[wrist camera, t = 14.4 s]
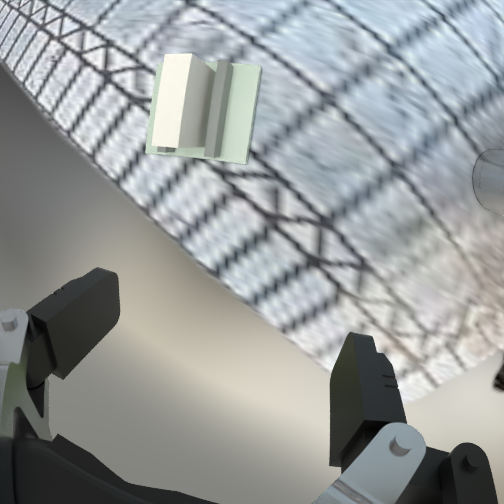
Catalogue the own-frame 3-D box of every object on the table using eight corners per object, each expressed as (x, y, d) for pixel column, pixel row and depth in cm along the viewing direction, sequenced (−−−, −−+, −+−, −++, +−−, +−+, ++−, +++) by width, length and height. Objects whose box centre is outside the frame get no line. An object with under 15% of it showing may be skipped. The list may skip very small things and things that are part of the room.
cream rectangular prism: (216, 72, 32) (192, 53, 24) (205, 147, 36) (177, 147, 28) (194, 72, 33) (165, 54, 24) (183, 145, 36) (151, 145, 28)
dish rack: (261, 68, 33) (256, 58, 29) (247, 163, 37) (240, 165, 33) (162, 65, 34) (147, 58, 30) (150, 152, 39) (134, 154, 35)
